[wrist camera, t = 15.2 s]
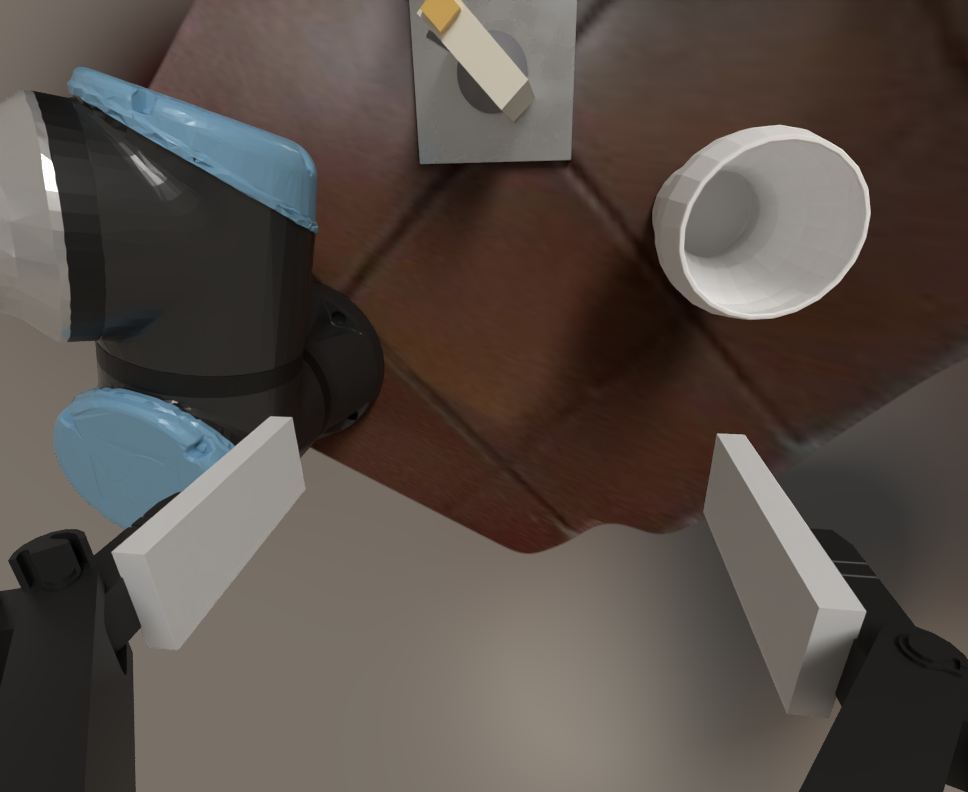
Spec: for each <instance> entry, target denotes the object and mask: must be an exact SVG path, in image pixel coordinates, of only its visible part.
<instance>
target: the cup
mask: <svg viewBox="0 0 968 792" xmlns="http://www.w3.org/2000/svg"><path fill="white" fill-rule="evenodd" d="M870 214H871V211H870V200H869V190H868V187H867V185H866V182H865V180H864V178H863V175H862V173H861V171H860V169H859V167H858V166H857V164H856V163H855V162H854V161H853V160H852V159H851V158H850V157H849V156H848V155H847V154H846V153H845V152H844V150H843V149H841V148H839V147H837V146H836V145H834V144H832V143H831V142H829V141H827V140H825V139H823V138H822V137H820V136H818V135H816V134H814V133H812V132H810V131H808V130H806V129H801V128H795V127H790V126H784V125H774V126H764V127H755V128H749V129H745V130H741V131H738V132H735V133H733V134H730V135H727V136H725V137H722V138H719V139H717V140H715V141H713V142H712V143H710V144H709V145H707V146H706V147H705V148H703V149H702V150H700V151H699V152H697V153H696V154H694V155H693V156H692V157H691V158H690V159H689V160H688V161H687V163H686V164H685V165H684V166H683V167H681V168H680V169H678V170H677V171H675V172H674V173H673V174H672V175H671V176H670V177H669V178H668V179H667V180H666V181H665V183H664V184H663V185H662V187H661V189H660V191H659V192H658V194H657V196H656V199H655V203H654V206H653V211H652V224H653V228H654V233H655V246H656V250H657V254H658V258H659V262H660V265H661V267H662V269H663V270H664V272H665V274H666V276H667V277H668V279H669V281H670V282H671V284H672V285H673V286H674V287H675V288H676V289H677V290H678V291H679V292H680V293H681V294H682V295H683V296H684V297H686V298H687V299H688V300H689V301H690V302H691V303H692V304H694V305H696V306H698V307H700V308H702V309H704V310H706V311H708V312H710V313H712V314H716V315H721V316H727V317H732V318H738V319H747V320H754V319H773V318H776V317H780V316H783V315H787V314H790V313H794V312H797V311H799V310H801V309H802V308H804V307H806V306H808V305H810V304H812V303H814V302H815V301H817V300H819V299H820V298H821V297H823V296H824V295H825V294H826V293H827V292H829V291H830V290H831V289H832V288H833V287H835V286H836V285H837V284H838V283H839V282H840V281H841V280H842V278H843V277H844V276H845V274H846V273H847V272H848V270H849V269H850V268H851V267H852V265H853V264H854V263H855V261H856V259H857V257H858V255H859V252H860V250H861V248H862V246H863V244H864V242H865V239H866V236H867V231H868V225H869V220H870Z"/></svg>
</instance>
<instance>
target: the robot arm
mask: <svg viewBox="0 0 968 792" xmlns="http://www.w3.org/2000/svg"><path fill="white" fill-rule="evenodd" d="M67 87H68V92H69V93H71V94H73V97H71V98H66V97H61V96H56V95H51V94H46V93H41V92H36V91H31V90H25V89H20V90H18V91H17V92H15V93H14V94H13V95H11V96H10V97H8V98H7V99H5V100H4V101H3V102H1V103H0V313H7V314H10V315H12V316H15V317H18V318H21V319H22V320H24V321H26V322H27V323H29V324H30V325H32V326H33V327H35V328H37V329H38V330H39V331H41V332H43V333H44V334H46V335H47V336H49V337H50V338H52V339H53V340H55V341H57V342H75V341H95V343H96V355H97V368H98V386H97V388H94V389H91V390H88V391H86V392H84V393H81V394H79V395H78V396H76V397H75V398H74V399H73V401H72V403H71V405H70V406H69V407H68V408H66V409H65V410H63V411H62V412H61V413H60V415H59V416H58V418H57V420H56V423H55V426H54V431H53V445H54V451H55V455H56V457H57V460H58V463H59V465H60V467H61V469H62V471H63V473H64V475H65V476H66V478H67V479H68V481H69V482H70V484H71V485H72V486H73V488H74V489H75V490H76V491H77V492H78V493H79V495H80V496H81V497H82V498H83V499H84V500H85V501H86V502H87V503H88V504H89V505H91V506H92V507H94V508H95V509H96V510H98V511H99V512H100V513H101V514H102V515H103V516H104V517H105V518H107V519H108V520H110V521H111V522H113V523H114V524H116V525H117V526H119V527H121V528H123V529H125V530H124V531H123V532H122V533H120V534H119V535H118V536H117V537H116V538H114V539H113V540H112V541H111V542H110V543H109V544H107V545H106V546H105V547H104V548H102V550H100V551H99V552H98V553H97V554H95V555H93V553H92V550H91V548H90V546H89V543H88V541H87V538H86V536H85V533H84V532H83V531H80V530H77V529H65V530H60V531H56V532H51V533H49V534H46V535H43V536H40V537H38V538H35V539H34V540H32V541H30V542H28V543H26V544H24V545H23V546H21V547H20V548H19V549H18V550H16V551H15V552H14V553H13V554H12V556H11V557H10V559H9V560H8V561H9V564H10V565H11V568H12V570H13V572H14V574H15V576H16V578H17V580H18V582H19V584H20V586H21V588H18V589H12V590H5V591H0V792H136V786H135V739H134V694H133V653H132V650H131V647H130V645H129V642H128V641H129V640H130V639H131V638H132V637H133V635H134V634H135V633H136V632H137V631H138V630H139V629H140V628H141V631H142V633H143V635H144V638H145V641H146V643H147V646H148V647H152V648H162V649H172V650H179V648H180V647H181V646H182V645H183V643H184V642H185V641H186V639H187V638H188V637H189V636H190V634H191V633H192V632H193V631H194V629H195V628H196V627H197V626H198V624H199V623H200V621H202V619H203V618H204V617H205V615H206V614H207V613H208V612H209V611H210V609H211V608H212V607H213V605H214V604H215V603H216V602H217V600H218V599H219V598H220V596H221V595H222V594H223V593H224V592H225V590H226V589H227V588H228V587H229V585H230V584H231V583H232V582H233V580H234V579H235V578H236V577H237V575H238V574H239V573H240V571H241V570H242V569H243V568H244V566H245V565H246V564H247V563H248V561H249V560H250V559H251V558H252V556H253V555H254V554H255V553H256V551H257V550H258V549H259V547H260V546H261V545H262V544H263V543H264V541H265V540H266V539H267V537H268V536H269V535H270V534H271V532H272V531H273V530H274V529H275V527H276V526H277V525H278V524H279V522H280V521H281V520H282V519H283V517H284V516H285V515H286V514H287V512H288V511H289V510H290V509H291V507H292V506H293V505H294V503H295V502H296V501H297V500H298V498H299V497H300V496H301V495H302V493H303V492H304V491H305V490H306V488H305V482H304V477H303V472H302V466H301V461H300V458H301V457H302V455H303V454H304V453H305V452H306V451H307V450H308V449H309V448H310V447H311V445H312V444H313V443H314V442H315V441H316V440H318V439H321V438H323V437H326V436H329V435H332V434H335V433H337V432H340V431H342V430H344V429H346V428H348V427H350V426H351V425H353V424H354V423H355V422H357V421H358V420H359V419H360V418H361V417H362V416H363V415H364V414H365V412H366V411H367V410H368V409H369V408H370V406H371V405H372V404H373V402H374V401H375V399H376V397H377V396H378V394H379V391H380V389H381V386H382V382H383V376H384V358H383V352H382V348H381V344H380V341H379V339H378V336H377V334H376V332H375V330H374V328H373V326H372V325H371V323H370V321H369V320H368V319H367V317H366V316H365V315H364V313H363V312H362V311H361V310H360V309H359V308H358V307H357V306H356V305H355V304H354V303H353V302H352V301H350V300H349V299H348V298H347V297H345V296H344V295H342V294H341V293H339V292H337V291H335V290H334V289H332V288H329V287H327V286H325V285H322V284H319V283H315V282H311V274H312V264H313V254H314V244H315V234H318V232H319V227H318V224H317V223H316V204H317V181H318V177H317V170H316V167H315V164H314V162H313V160H312V158H311V157H310V155H309V154H308V153H307V152H306V150H305V149H303V148H302V147H301V146H300V145H298V144H297V143H295V142H293V141H291V140H289V139H286V138H283V137H281V136H278V135H275V134H273V133H270V132H267V131H264V130H262V129H259V128H256V127H253V126H251V125H248V124H245V123H242V122H240V121H237V120H234V119H231V118H228V117H225V116H223V115H220V114H217V113H214V112H211V111H208V110H206V109H203V108H200V107H197V106H195V105H192V104H189V103H186V102H184V101H181V100H178V99H175V98H172V97H169V96H167V95H164V94H161V93H158V92H155V91H152V90H150V89H147V88H144V87H141V86H138V85H135V84H132V83H129V82H126V81H123V80H120V79H117V78H115V77H112V76H109V75H106V74H103V73H101V72H98V71H95V70H92V69H89V68H86V67H79V68H76V69H75V70H74V72H73V75H72V78H71V80H70V81H68V83H67ZM704 515H705V517H706V520H707V522H708V524H709V527H710V529H711V532H712V534H713V537H714V539H715V541H716V544H717V546H718V549H719V551H720V553H721V556H722V558H723V560H724V563H725V565H726V568H727V570H728V573H729V575H730V578H731V580H732V582H733V585H734V587H735V590H736V592H737V594H738V597H739V599H740V602H741V604H742V607H743V609H744V611H745V614H746V616H747V619H748V621H749V623H750V626H751V628H752V631H753V633H754V635H755V638H756V640H757V643H758V645H759V647H760V650H761V652H762V655H763V657H764V659H765V662H766V664H767V667H768V669H769V672H770V674H771V677H772V679H773V681H774V684H775V686H776V689H777V691H778V693H779V696H780V698H781V701H782V703H783V705H784V708H785V710H786V713H787V714H793V715H803V716H813V717H823V718H829V716H830V714H831V711H832V708H833V705H834V702H835V699H836V697H837V699H838V700H839V702H840V704H841V706H842V708H841V710H840V712H839V714H838V716H837V717H836V719H835V722H834V723H833V725H832V727H831V729H830V731H829V733H828V735H827V737H826V739H825V741H824V743H823V745H822V747H821V749H820V751H819V753H818V755H817V757H816V759H815V761H814V763H813V765H812V767H811V769H810V771H809V773H808V775H807V777H806V779H805V781H804V783H803V785H802V787H801V789H800V790H799V792H943V790H944V787H945V784H947V785H949V786H952V787H955V788H957V789H960V790H963V791H965V792H968V659H967V658H966V656H965V655H964V654H963V653H962V652H960V651H959V650H958V649H957V648H956V647H955V646H953V645H952V644H951V643H950V642H948V641H946V640H944V639H943V638H941V637H939V636H937V635H936V634H934V633H932V632H929V631H926V630H923V629H921V628H918V627H916V626H915V625H914V624H913V622H912V621H911V620H910V619H909V617H908V616H907V615H906V613H905V612H904V611H903V610H902V608H901V607H900V606H899V604H898V603H897V602H896V600H895V599H894V598H893V597H892V595H891V594H890V593H889V592H888V590H887V589H886V588H885V586H884V585H883V584H882V583H881V581H880V580H879V579H876V575H875V573H874V572H873V571H872V570H871V568H870V567H869V566H868V565H866V564H865V560H864V559H863V558H862V557H861V555H860V554H859V553H858V551H857V550H856V549H855V548H854V546H853V545H852V544H850V543H849V542H848V541H846V540H845V539H843V538H842V537H841V536H839V535H838V534H837V533H835V532H834V531H833V530H823V529H809V528H808V526H807V524H806V523H805V522H804V520H803V519H802V517H801V516H800V514H799V513H798V512H797V510H796V508H795V507H794V506H793V504H792V503H791V501H790V500H789V498H788V497H787V495H786V494H785V493H784V491H783V490H782V488H781V487H780V485H779V484H778V482H777V481H776V479H775V478H774V477H773V475H772V474H771V472H770V471H769V469H768V468H767V466H766V465H765V463H764V462H763V461H762V459H761V458H760V456H759V455H758V453H757V452H756V450H755V449H754V448H753V446H752V445H751V443H750V442H749V440H748V439H747V437H746V436H745V435H738V434H717V436H716V442H715V448H714V453H713V459H712V465H711V471H710V477H709V483H708V488H707V494H706V500H705V506H704Z"/></svg>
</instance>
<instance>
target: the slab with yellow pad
mask: <svg viewBox="0 0 968 792" xmlns="http://www.w3.org/2000/svg"><path fill="white" fill-rule="evenodd" d="M417 14H418V15H419V16H420V18H421V19H422V20H423V21H424V22H425V23H426V24H427V26H428V27H429V28H430V29H431V30H432V31H433V32H434V34H435V35H436V36H437V37H438V38H439V39H440V40H441V42H442V43H443V44H444V45H445V46H446V47H447V48H448V50H449V51H450V52H451V53H452V54H453V55H454V56H455V58H456V59H457V60H458V65H457V80H458V85H459V88H460V90H461V93H462V95H463V96H464V98H465V99H466V100H467V102H468V103H469V104H470V105H472V106H473V107H474V108H476V109H478V110H480V111H482V112H486V113H498V112H502V111H503V112H504V113H505V114H506V115H507V116H508V117H509V118H510V119H511V120H512V121H513V122H514V121H515V120H516V119H517V118H518V117H519V116H520V115H521V113H522V112H523V111H524V110H525V109H526V108H527V107H528V106H529V105H530V103H531V102H532V101H533V100H534V99H535V96H534V94H533V91H532V88H531V86H530V83H529V80H528V79H527V62H526V58H525V55H524V52H523V50H522V48H521V46H520V45H519V44H518V42H517V41H516V40H515V39H514V38H513V37H511V36H510V35H508V34H507V33H505V32H502V31H498V30H488V31H487V30H486V29H485V28H484V27H483V26H482V24H481V23H480V22H479V21H478V20H477V18H476V17H475V16H474V15H473V14H472V13H471V11H470V10H469V9H468V8H467V7H466V6H465V4H464V3H463V2H462V1H461V0H426V1H425V2H424V4H423V5H422V6H421V8H420V9H419V10H418V12H417Z"/></svg>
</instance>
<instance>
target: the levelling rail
mask: <svg viewBox="0 0 968 792" xmlns="http://www.w3.org/2000/svg"><path fill="white" fill-rule="evenodd" d="M425 1H426V0H409V5H410V20H411V36H412V51H413V66H414V82H415V97H416V112H417V127H418V143H419V158H420V164H444V163H481V162H518V161H555V160H571V141H572V115H573V90H574V64H575V39H576V13H577V0H461V1H462V2H463V3H464V4H465V6H466V7H467V8H468V9H469V10H470V11H471V13H472V14H473V15H474V16H475V17H476V18H477V20H478V21H479V22H480V23H481V24H482V26H483V27H484V28H485V29H486V30H487V31H488V30H498V31H502V32H505V33H507V34H508V35H510V36H511V37H513V38H514V39H515V40H516V41H517V42H518V44H519V45H520V46H521V48H522V50H523V52H524V55H525V58H526V62H527V79H528V80H529V83H530V86H531V88H532V91H533V94H534V96H535V99H534V100H533V101H532V102H531V103H530V105H529V106H528V107H527V108H526V109H525V110H524V111H523V112H522V113H521V115H520V116H519V117H518V118H517V119H516V120H515V121H514V122H513V121H512V120H511V119H510V118H509V117H508V116H507V115H506V114H505V113H504V112H503V111H502V112H498V113H486V112H482V111H480V110H478V109H476V108H474V107H473V106H472V105H470V104H469V103H468V102H467V100H466V99H465V98H464V96H463V95H462V93H461V90H460V88H459V85H458V80H457V65H458V60H457V59H456V58H455V56H454V55H453V54H452V53H451V52H450V51H449V50H448V48H447V47H446V46H445V45H444V44H443V43H442V42H441V40H440V39H439V38H438V37H437V36H436V35H435V34H434V32H433V31H432V30H431V29H430V28H429V27H428V26H427V24H426V23H425V22H424V21H423V20H422V19H421V18H420V16H419V15H418V14H417V12H418V10H419V9H420V8H421V6H422V5H423V4H424V2H425Z"/></svg>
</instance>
